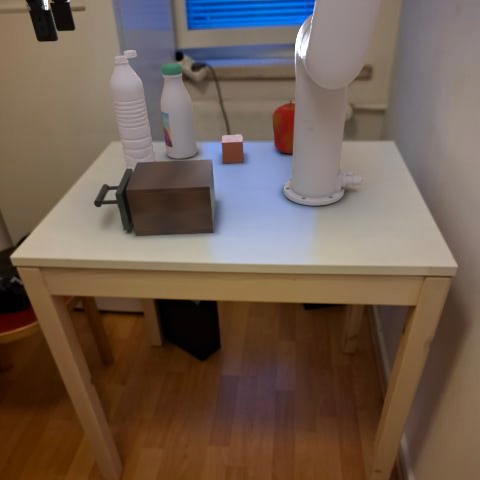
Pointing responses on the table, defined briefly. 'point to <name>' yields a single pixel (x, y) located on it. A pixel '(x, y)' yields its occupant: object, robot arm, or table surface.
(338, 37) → the robot arm
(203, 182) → the cabinet
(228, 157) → the block
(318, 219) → the table surface
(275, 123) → the apple
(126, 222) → the drawer
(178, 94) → the milk bottle
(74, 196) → the table surface
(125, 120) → the water bottle
